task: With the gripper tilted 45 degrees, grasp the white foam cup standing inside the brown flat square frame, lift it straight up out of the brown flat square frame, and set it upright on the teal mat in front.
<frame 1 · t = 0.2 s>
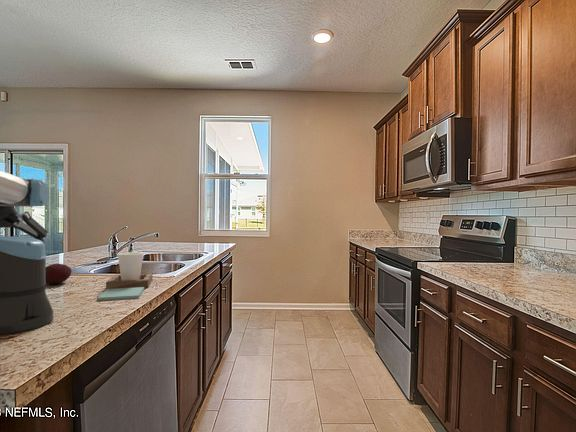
hand: (18, 253, 111), 16 cm above the countertop, tool tilted 35°, fingers open, 13 cm apart
brown flat square frame: (130, 284, 134), on the countertop
mat: (122, 294, 118), on the countertop
foam cup: (130, 285, 134), on the countertop
potato: (56, 284, 136), on the countertop
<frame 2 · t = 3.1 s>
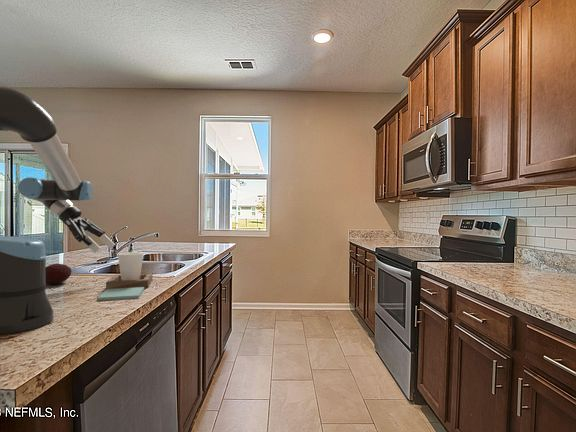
hand: (105, 248, 133), 15 cm above the countertop, tool tilted 45°, fingers open, 13 cm apart
nothing on the countertop moved.
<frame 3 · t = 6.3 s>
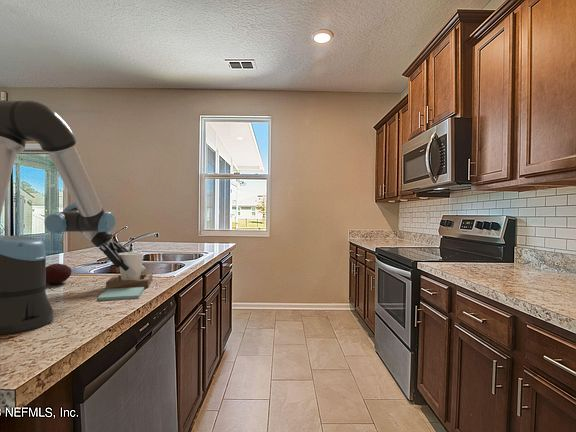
hand: (138, 272, 135), 5 cm above the countertop, tool tilted 45°, fingers closed on foam cup, 9 cm apart
foam cup: (130, 285, 134), on the countertop, touching gripper
everything else where it was.
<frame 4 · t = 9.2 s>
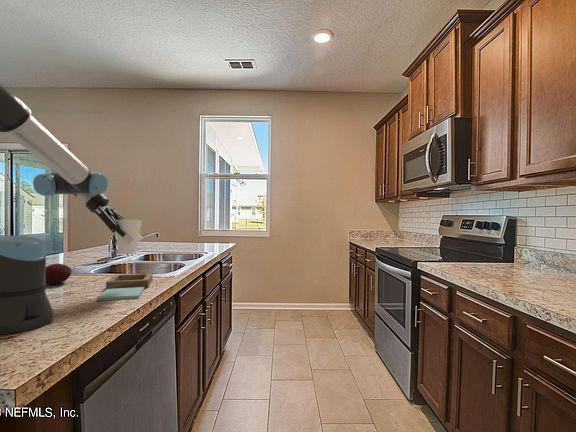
hand: (136, 240, 126), 19 cm above the countertop, tool tilted 45°, fingers closed on foam cup, 9 cm apart
foam cup: (127, 253, 126), point 14 cm above the countertop, touching gripper
everything else where it was.
when the fingers open (7 cm above the countertop, at t = 12.4 s): foam cup drops 1 cm, resting on mat.
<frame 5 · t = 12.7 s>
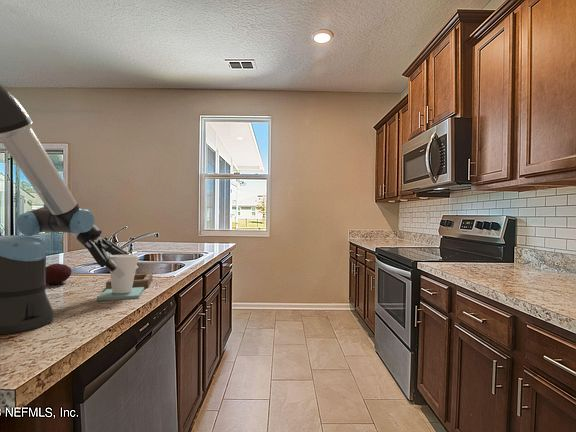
hand: (129, 272, 118), 8 cm above the countertop, tool tilted 45°, fingers open, 12 cm apart
foam cup: (122, 292, 118), point 1 cm above the countertop, touching mat
everything else where it was.
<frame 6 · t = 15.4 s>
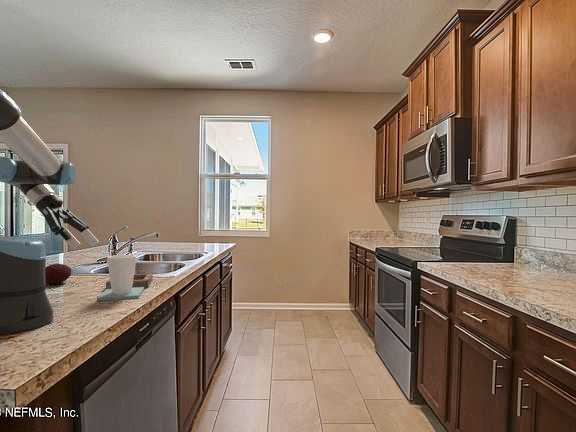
hand: (86, 245, 116), 18 cm above the countertop, tool tilted 40°, fingers open, 13 cm apart
nothing on the countertop moved.
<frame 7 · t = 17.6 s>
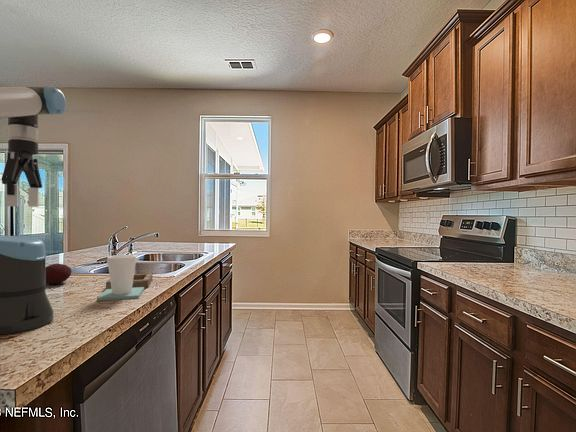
hand: (23, 206, 105), 32 cm above the countertop, tool pointing down, fingers open, 13 cm apart
nothing on the countertop moved.
at the end: foam cup inside the target area on the mat (0.1 cm from its centre), point 0.8 cm above the mat's base; foam cup tilted 0°; the gripper is holding nothing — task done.
